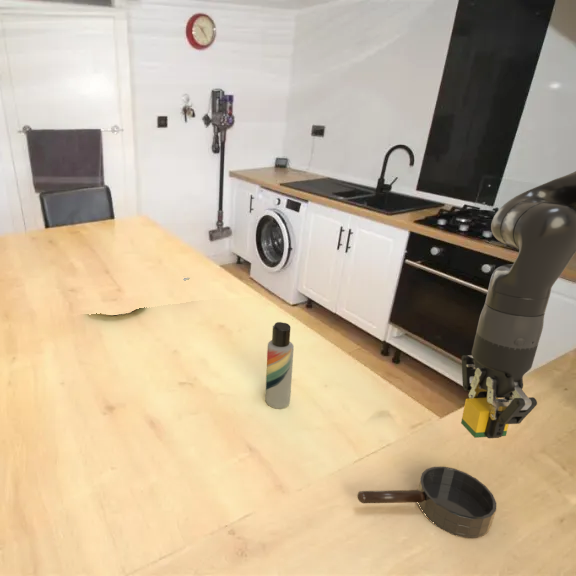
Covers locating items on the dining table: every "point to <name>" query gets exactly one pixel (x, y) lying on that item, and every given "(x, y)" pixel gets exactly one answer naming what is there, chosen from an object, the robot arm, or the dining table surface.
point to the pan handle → (391, 496)
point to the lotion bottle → (279, 367)
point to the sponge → (477, 416)
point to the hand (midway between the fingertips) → (483, 427)
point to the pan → (457, 502)
